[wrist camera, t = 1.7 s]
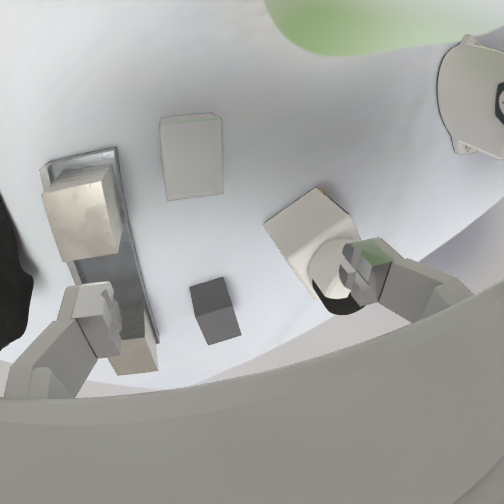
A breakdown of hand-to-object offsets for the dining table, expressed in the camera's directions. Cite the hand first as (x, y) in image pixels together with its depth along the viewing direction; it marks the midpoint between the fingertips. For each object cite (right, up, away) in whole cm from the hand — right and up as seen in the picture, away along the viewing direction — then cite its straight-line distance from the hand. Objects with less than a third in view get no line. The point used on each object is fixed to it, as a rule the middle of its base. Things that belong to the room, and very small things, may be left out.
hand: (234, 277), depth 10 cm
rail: (-15, 0, +19) cm, 24 cm away
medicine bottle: (+6, +4, +24) cm, 25 cm away
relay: (-4, -5, +26) cm, 26 cm away
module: (-5, +10, +15) cm, 19 cm away
